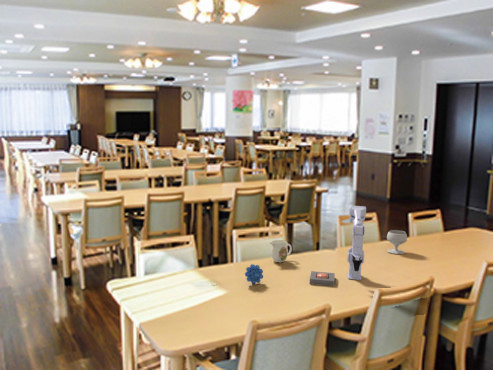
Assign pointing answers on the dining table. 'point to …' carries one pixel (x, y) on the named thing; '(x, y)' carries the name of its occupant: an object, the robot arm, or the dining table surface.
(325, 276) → the button
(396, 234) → the chalice
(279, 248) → the pitcher
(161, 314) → the dining table surface
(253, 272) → the grapes
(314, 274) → the button housing
